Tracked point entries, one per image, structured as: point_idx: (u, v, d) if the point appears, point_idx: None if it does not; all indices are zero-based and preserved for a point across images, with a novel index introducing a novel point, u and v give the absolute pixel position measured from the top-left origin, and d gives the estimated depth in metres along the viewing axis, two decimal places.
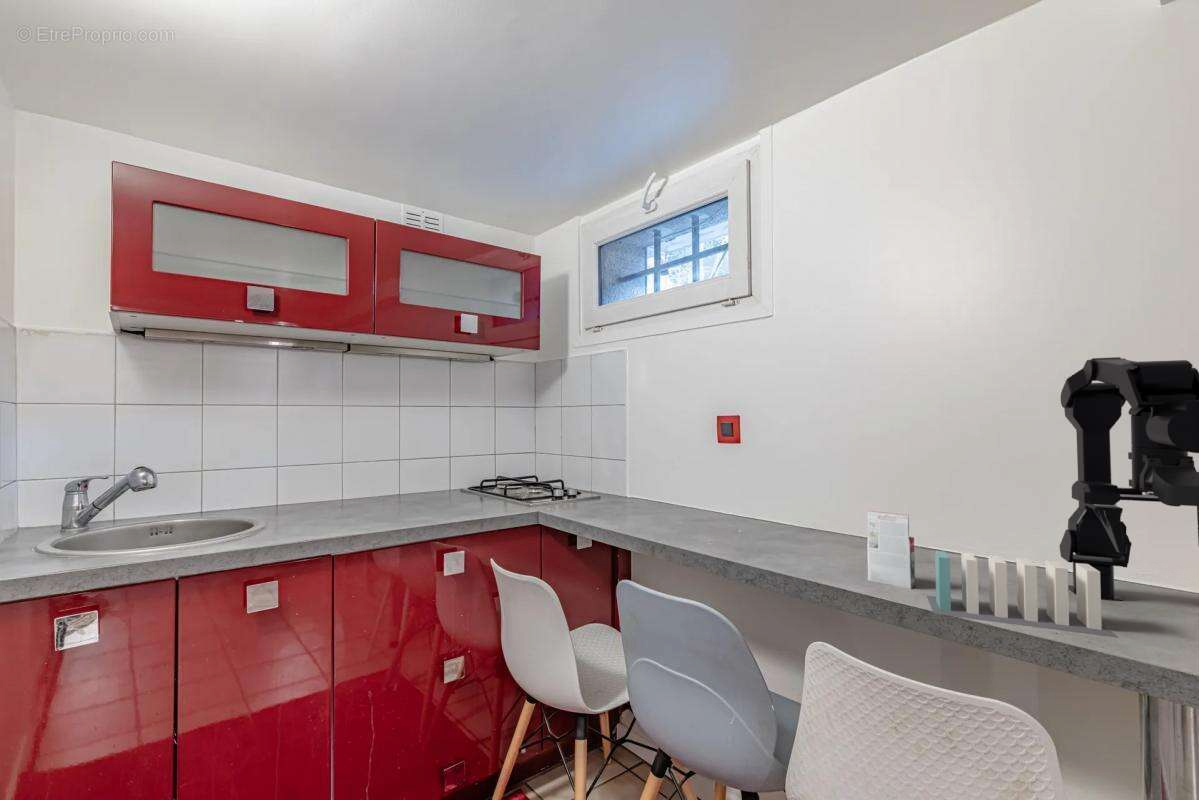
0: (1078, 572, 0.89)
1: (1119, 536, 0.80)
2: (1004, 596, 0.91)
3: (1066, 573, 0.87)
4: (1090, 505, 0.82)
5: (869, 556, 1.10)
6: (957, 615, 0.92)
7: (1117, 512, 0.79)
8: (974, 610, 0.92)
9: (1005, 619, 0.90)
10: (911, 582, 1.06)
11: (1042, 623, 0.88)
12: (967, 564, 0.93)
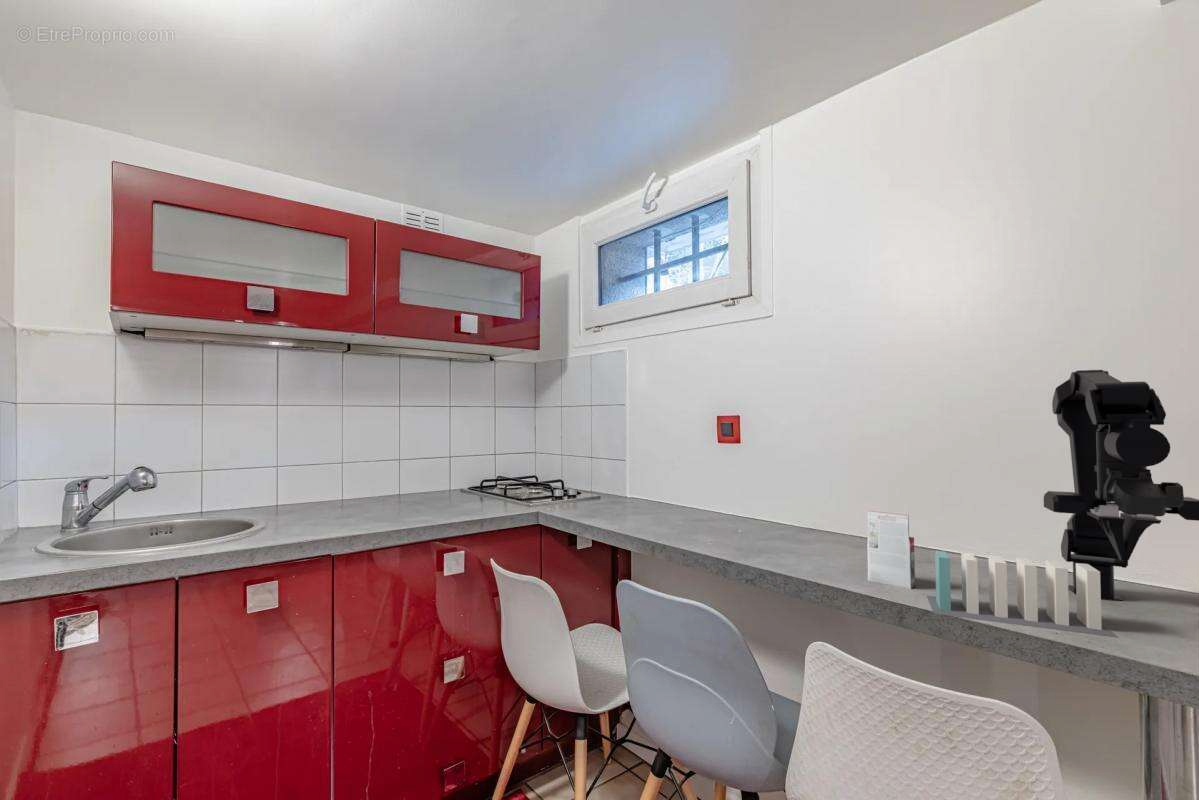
0: (1078, 572, 0.89)
1: (1121, 544, 0.86)
2: (1004, 596, 0.91)
3: (1066, 573, 0.87)
4: (1094, 515, 0.87)
5: (869, 556, 1.10)
6: (957, 615, 0.92)
7: (1119, 522, 0.85)
8: (974, 610, 0.92)
9: (1005, 619, 0.90)
10: (911, 582, 1.06)
11: (1042, 623, 0.88)
12: (967, 564, 0.93)
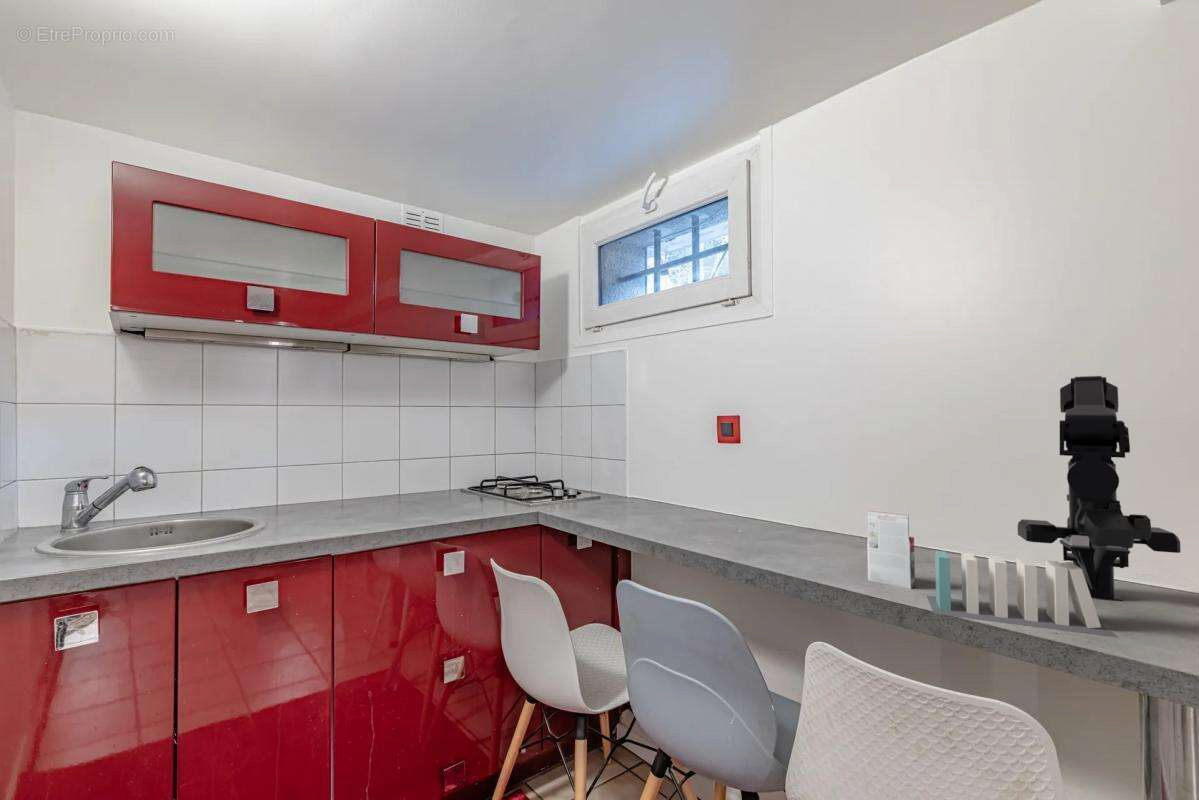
0: None
1: (1092, 574, 0.87)
2: (1004, 596, 0.91)
3: (1066, 573, 0.87)
4: (1066, 545, 0.89)
5: (869, 556, 1.10)
6: (957, 615, 0.92)
7: (1090, 552, 0.86)
8: (974, 610, 0.92)
9: (1005, 619, 0.90)
10: (911, 582, 1.06)
11: (1042, 623, 0.88)
12: (967, 564, 0.93)
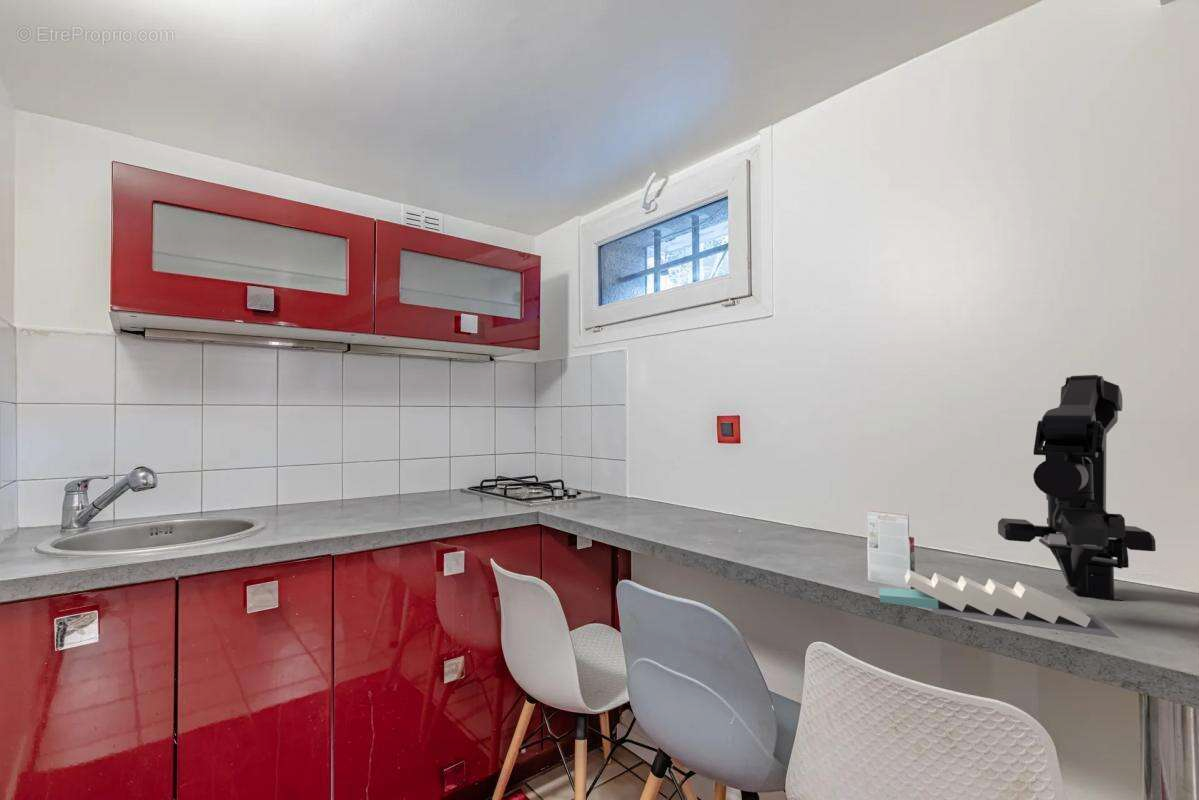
0: None
1: (1070, 572, 0.88)
2: (972, 598, 0.92)
3: (1000, 589, 0.91)
4: (1044, 543, 0.90)
5: (869, 556, 1.10)
6: (957, 615, 0.92)
7: (1067, 551, 0.87)
8: (961, 605, 0.93)
9: (1005, 619, 0.90)
10: None
11: (1042, 623, 0.88)
12: (911, 585, 0.96)
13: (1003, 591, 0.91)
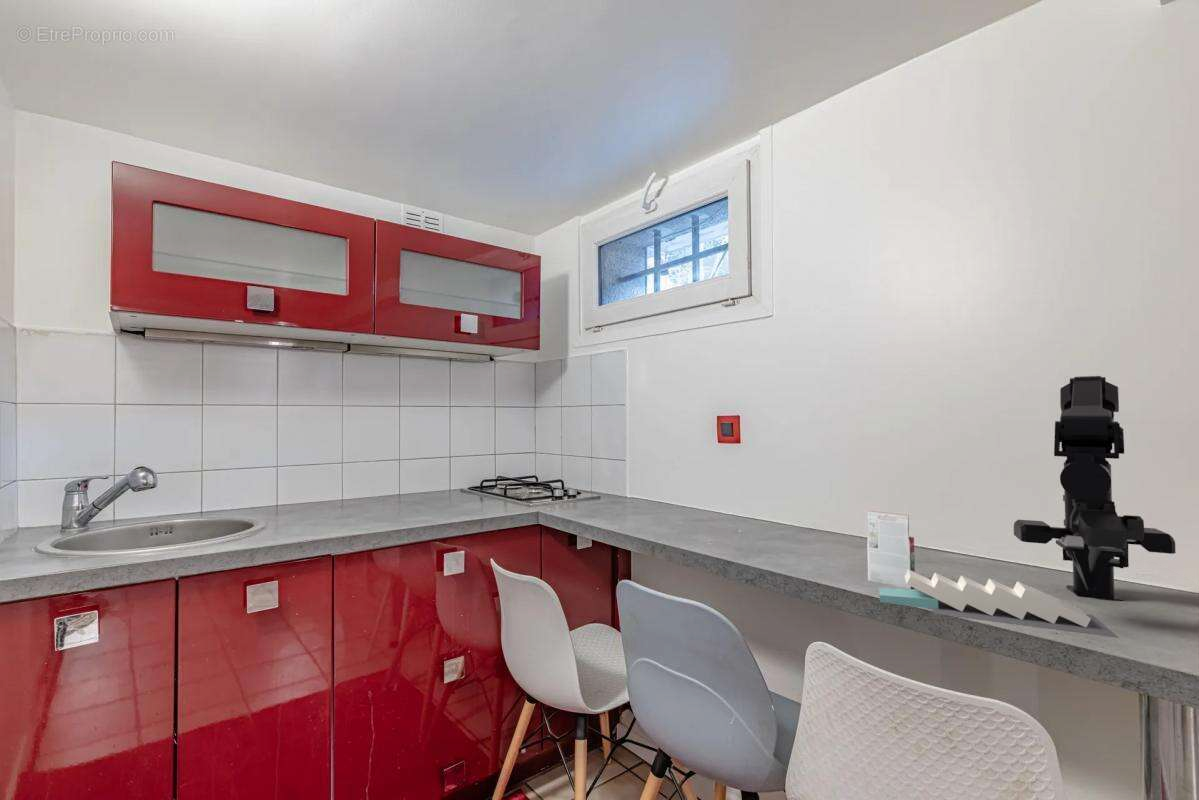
0: None
1: (1087, 574, 0.87)
2: (972, 598, 0.92)
3: (1000, 589, 0.91)
4: (1061, 545, 0.89)
5: (869, 556, 1.10)
6: (957, 615, 0.92)
7: (1085, 553, 0.86)
8: (961, 605, 0.93)
9: (1005, 619, 0.90)
10: None
11: (1042, 623, 0.88)
12: (911, 585, 0.96)
13: (1003, 591, 0.91)
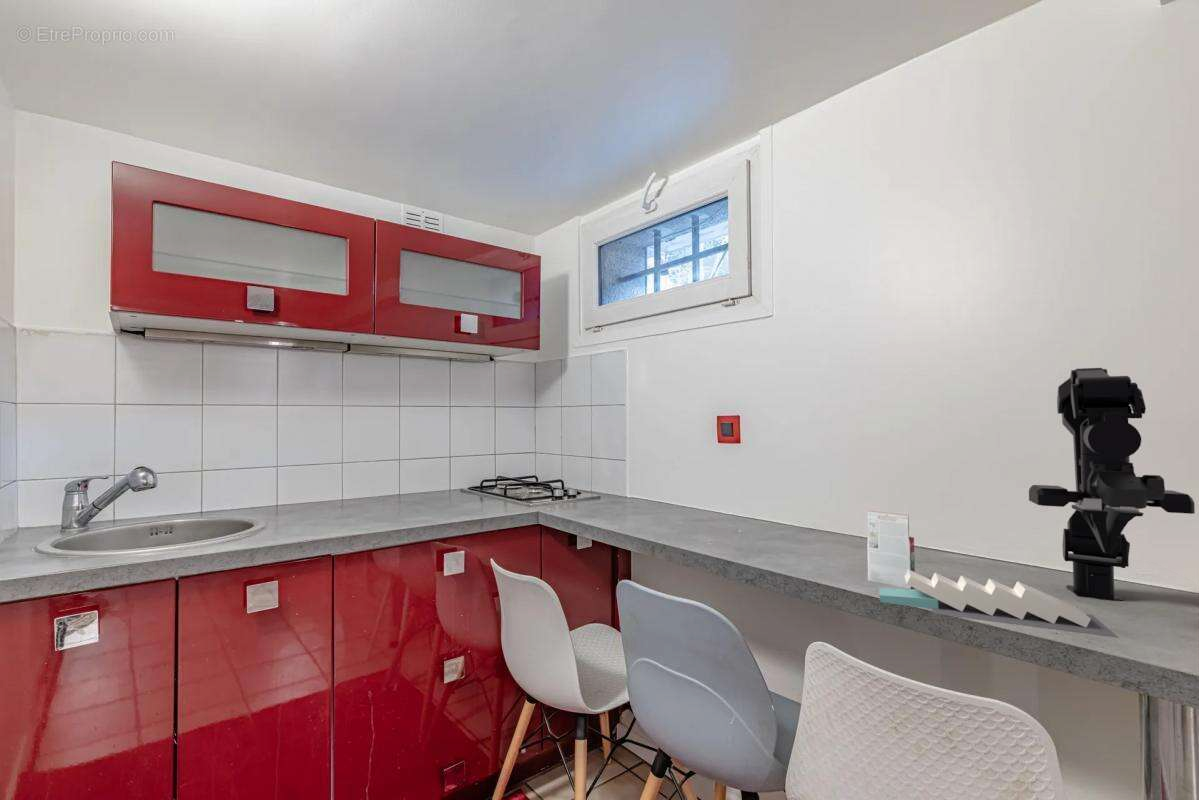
0: None
1: (1105, 537, 0.86)
2: (972, 598, 0.92)
3: (1000, 589, 0.91)
4: (1078, 509, 0.88)
5: (869, 556, 1.10)
6: (957, 615, 0.92)
7: (1103, 515, 0.85)
8: (961, 605, 0.93)
9: (1005, 619, 0.90)
10: None
11: (1042, 623, 0.88)
12: (911, 585, 0.96)
13: (1003, 591, 0.91)
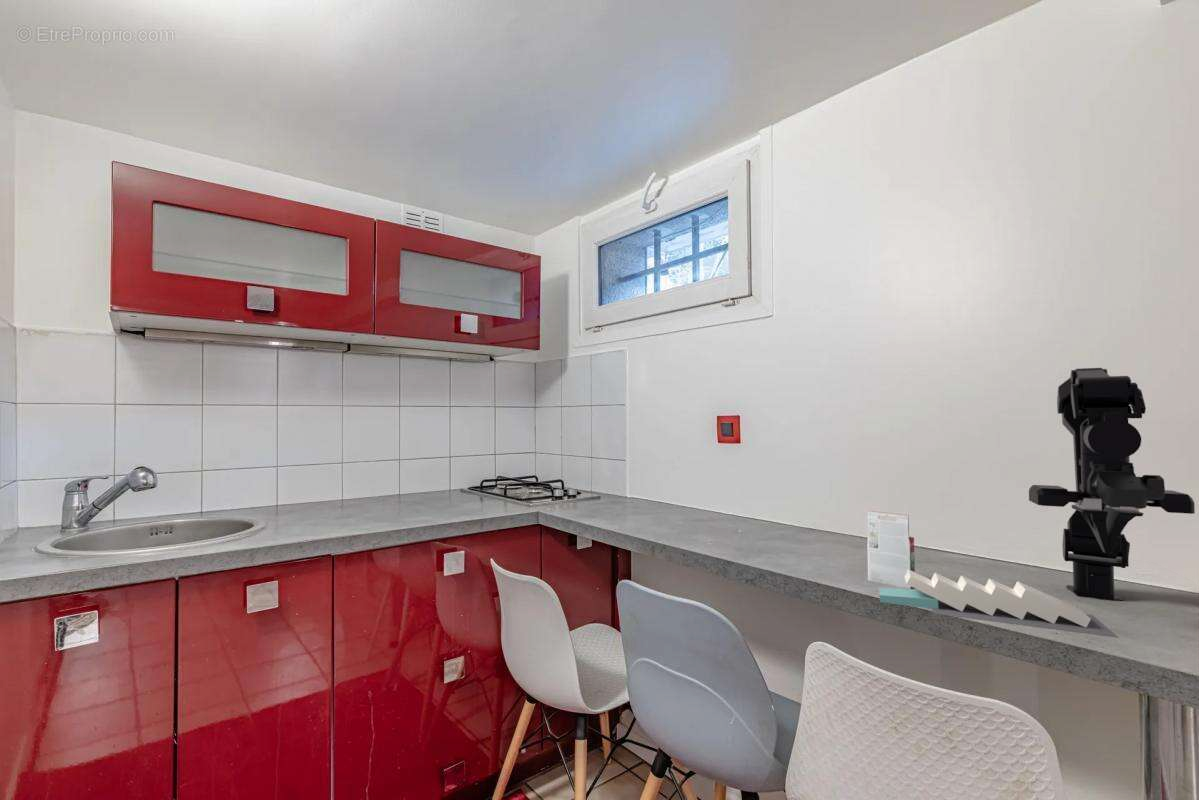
0: None
1: (1105, 537, 0.86)
2: (972, 598, 0.92)
3: (1000, 589, 0.91)
4: (1078, 509, 0.88)
5: (869, 556, 1.10)
6: (957, 615, 0.92)
7: (1103, 515, 0.85)
8: (961, 605, 0.93)
9: (1005, 619, 0.90)
10: None
11: (1042, 623, 0.88)
12: (911, 585, 0.96)
13: (1003, 591, 0.91)
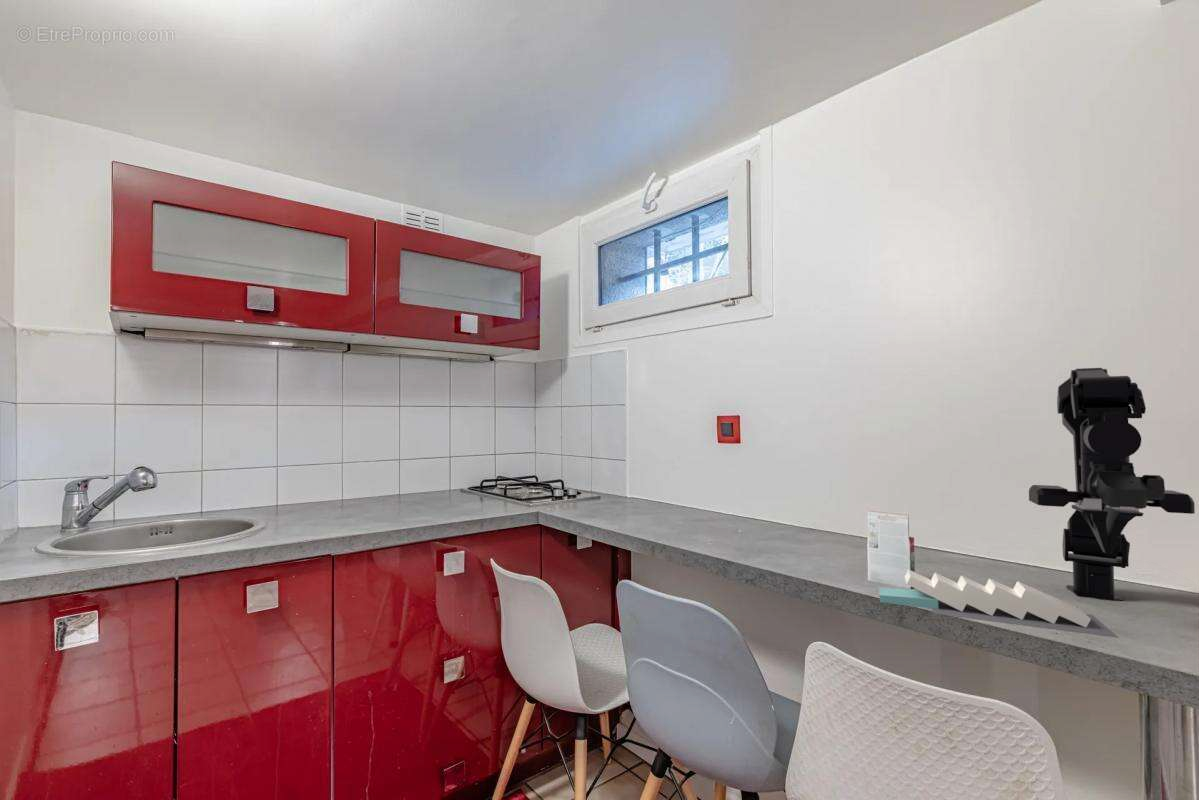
0: None
1: (1105, 537, 0.86)
2: (972, 598, 0.92)
3: (1000, 589, 0.91)
4: (1078, 509, 0.88)
5: (869, 556, 1.10)
6: (957, 615, 0.92)
7: (1103, 515, 0.85)
8: (961, 605, 0.93)
9: (1005, 619, 0.90)
10: None
11: (1042, 623, 0.88)
12: (911, 585, 0.96)
13: (1003, 591, 0.91)
